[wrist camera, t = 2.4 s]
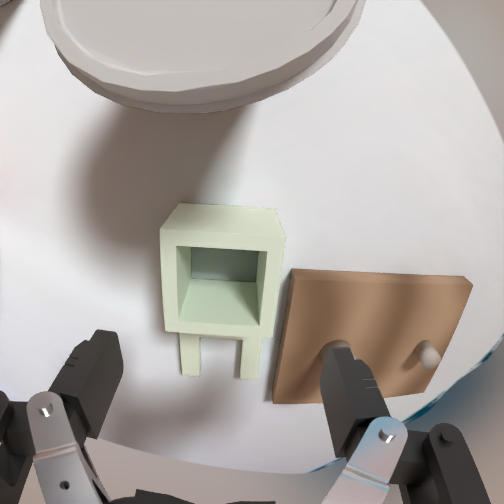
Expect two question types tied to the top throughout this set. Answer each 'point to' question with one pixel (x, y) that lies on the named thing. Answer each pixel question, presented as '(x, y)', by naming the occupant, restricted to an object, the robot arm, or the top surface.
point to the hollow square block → (216, 291)
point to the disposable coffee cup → (196, 48)
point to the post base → (366, 328)
